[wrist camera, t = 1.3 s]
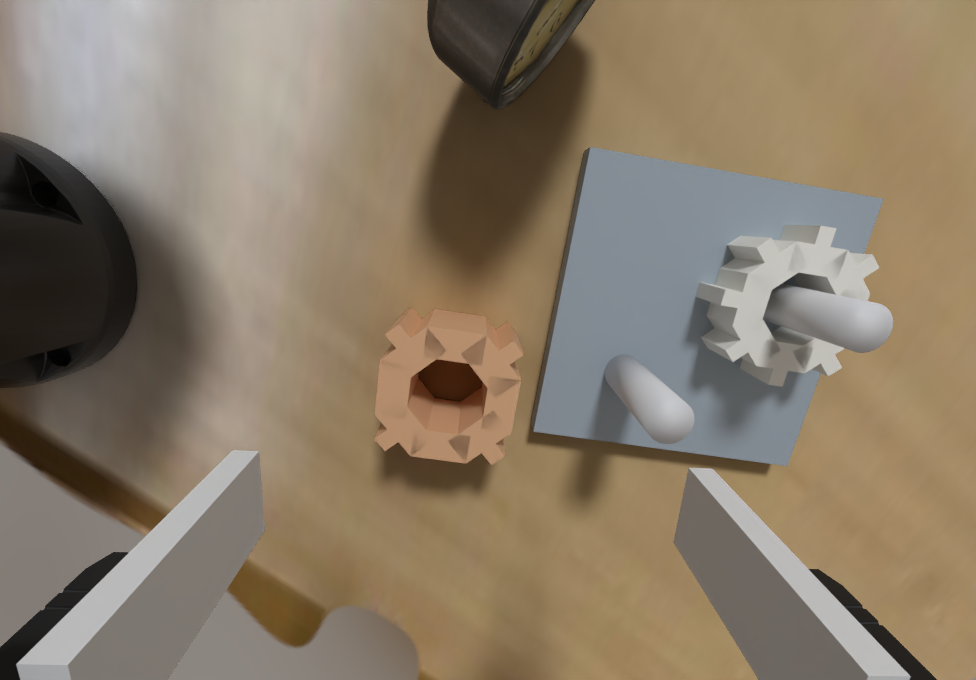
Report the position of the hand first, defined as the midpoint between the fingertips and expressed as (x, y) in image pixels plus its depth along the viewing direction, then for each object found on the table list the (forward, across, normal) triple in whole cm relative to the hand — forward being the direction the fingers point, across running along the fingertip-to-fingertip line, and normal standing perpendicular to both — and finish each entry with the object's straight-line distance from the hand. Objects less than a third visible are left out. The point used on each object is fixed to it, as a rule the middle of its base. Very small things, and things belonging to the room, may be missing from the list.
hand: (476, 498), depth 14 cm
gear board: (+17, +14, +3) cm, 22 cm away
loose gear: (+17, -1, -2) cm, 17 cm away
